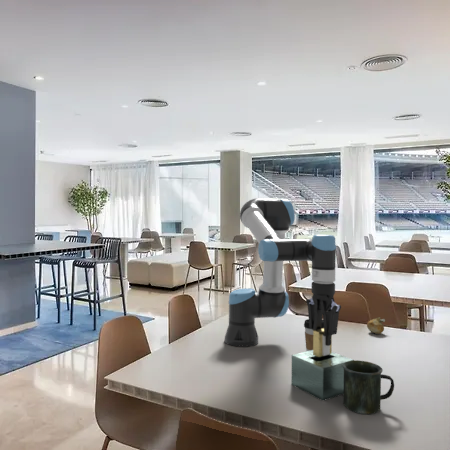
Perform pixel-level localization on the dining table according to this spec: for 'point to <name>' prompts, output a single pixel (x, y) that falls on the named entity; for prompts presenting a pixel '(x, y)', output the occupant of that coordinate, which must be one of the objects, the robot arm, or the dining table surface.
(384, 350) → the dining table surface
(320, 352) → the tan rectangular block
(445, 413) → the dining table surface
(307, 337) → the coffee cup
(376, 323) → the onion
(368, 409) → the mug
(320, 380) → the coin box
